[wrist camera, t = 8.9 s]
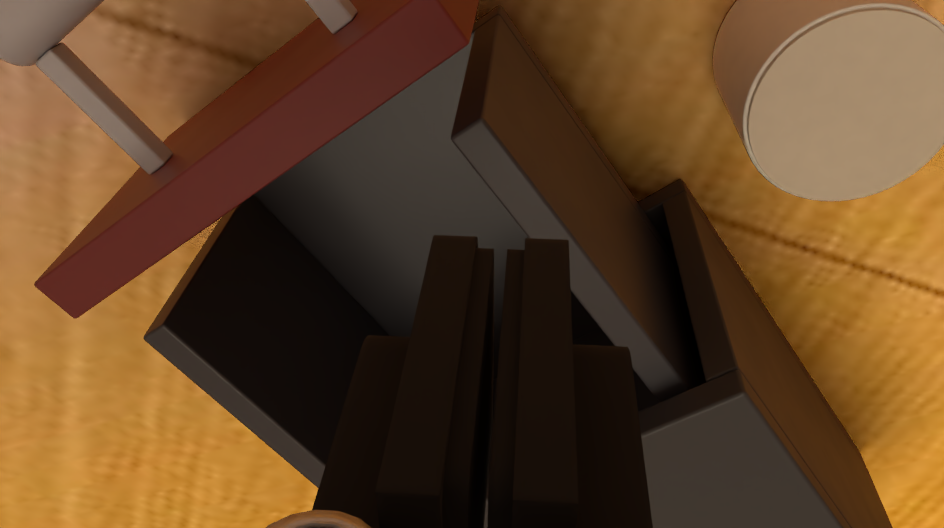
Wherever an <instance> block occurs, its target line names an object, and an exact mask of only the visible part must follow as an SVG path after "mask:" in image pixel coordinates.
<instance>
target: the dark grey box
mask: <svg viewBox="0 0 944 528" xmlns="http://www.w3.org/2000/svg"><path fill="white" fill-rule="evenodd" d="M638 204H639V205H640V207H641V208H642V210H643V211H644V212H645V214H646V215H647V217H648V218H649V220H650V221H651V222H652V224H653V225H654V227H655V228H656V230H657V231H658V233H659V234H660V235H661V237H662V238H663V240H664V241H665V243H666V244H667V246H668V247H669V248H670V250H671V251H672V253H673V254H674V256H675V257H676V262H677V266H678V270H679V274H680V278H681V282H682V286H683V290H684V294H685V298H686V302H687V307H688V311H689V315H690V319H691V323H692V327H693V331H694V335H695V339H696V343H697V347H698V351H699V356H700V360H701V364H702V368H703V372H704V376H705V380H706V383H704V384H701V385H699V386H697V387H694V388H692V389H690V390H687V391H685V392H683V393H680V394H678V395H676V396H674V397H671V398H669V399H667V400H664V401H662V402H660V403H657V404H655V405H653V406H650V407H648V408H646V409H643V410H641V411H639V412H638V415H639V423H640V430H641V438H642V446H643V454H644V462H645V469H646V477H647V485H648V493H649V501H650V508H651V516H652V524H653V528H892V525H891V523H890V521H889V518H888V516H887V514H886V511H885V509H884V507H883V504H882V502H881V500H880V498H879V495H878V493H877V491H876V488H875V486H874V484H873V481H872V479H871V477H870V474H869V472H868V470H867V468H866V465H865V463H864V461H863V458H862V456H861V454H860V452H859V451H858V449H857V447H856V446H855V444H854V443H853V441H852V440H851V438H850V437H849V435H848V434H847V432H846V431H845V429H844V427H843V426H842V424H841V423H840V421H839V420H838V418H837V417H836V415H835V414H834V412H833V411H832V409H831V407H830V406H829V404H828V403H827V401H826V400H825V398H824V397H823V395H822V394H821V392H820V391H819V389H818V388H817V386H816V384H815V383H814V381H813V380H812V378H811V377H810V375H809V374H808V372H807V371H806V369H805V368H804V366H803V364H802V363H801V361H800V360H799V358H798V357H797V355H796V354H795V352H794V351H793V349H792V348H791V346H790V344H789V343H788V341H787V340H786V338H785V337H784V335H783V334H782V332H781V331H780V329H779V328H778V326H777V324H776V323H775V321H774V320H773V318H772V317H771V315H770V314H769V312H768V311H767V309H766V308H765V306H764V305H763V303H762V301H761V300H760V298H759V297H758V295H757V294H756V292H755V291H754V289H753V288H752V286H751V285H750V283H749V281H748V280H747V278H746V277H745V275H744V274H743V272H742V271H741V269H740V268H739V266H738V265H737V263H736V261H735V260H734V258H733V257H732V255H731V254H730V252H729V251H728V249H727V248H726V246H725V245H724V243H723V241H722V240H721V238H720V237H719V235H718V234H717V232H716V231H715V229H714V228H713V226H712V225H711V223H710V222H709V220H708V218H707V217H706V215H705V214H704V212H703V211H702V209H701V208H700V206H699V205H698V203H697V202H696V200H695V198H694V197H693V195H692V194H691V192H690V191H689V189H688V188H687V186H686V185H685V183H684V182H683V180H681V179H680V180H678V181H676V182H674V183H672V184H671V185H669V186H667V187H665V188H663V189H661V190H660V191H658V192H656V193H654V194H652V195H650V196H649V197H647V198H645V199H643V200H641V201H639V202H638ZM488 489H489V476H488V484H487V497H486V509H485V521H484V528H487V527H488Z"/></svg>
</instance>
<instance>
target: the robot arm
mask: <svg viewBox="0 0 944 528" xmlns="http://www.w3.org/2000/svg"><path fill="white" fill-rule="evenodd" d="M493 344H494V249H492V248H478V238H477V236H449V235H434V236H433V239H432V243H431V247H430V252H429V256H428V261H427V265H426V269H425V274H424V278H423V283H422V287H421V292H420V296H419V300H418V305H417V309H416V314H415V318H414V322H413V327H412V331H411V336H410V337H398V336H375V335H368V336H367V337H366V338H365V339H364V342H363V344H362V347H361V350H360V353H359V356H358V360H357V363H356V366H355V370H354V373H353V376H352V380H351V383H350V386H349V390H348V393H347V396H346V400H345V403H344V406H343V409H342V413H341V416H340V419H339V423H338V426H337V429H336V433H335V436H334V439H333V443H332V446H331V449H330V453H329V456H328V459H327V463H326V466H325V469H324V473H323V476H322V479H321V483H320V486H319V489H318V492H317V496H316V499H315V502H314V506H313V509H312V511H307V512H302V513H297V514H292V515H289V516H287V517H285V518H283V519H281V520H279V521H277V522H274V523H272V524H270V525H268V526H267V527H266V528H484V521H485V509H486V497H487V484H488V472H489V460H490V472H489V489H488V527H487V528H653V524H652V516H651V508H650V501H649V493H648V485H647V477H646V469H645V462H644V454H643V446H642V438H641V430H640V423H639V415H638V407H637V399H636V391H635V384H634V376H633V368H632V360H631V355H630V350H629V348H628V347H621V346H598V345H576V344H573V341H572V314H571V287H570V260H569V240H562V239H534V238H525V250H519V249H508V250H507V260H506V272H505V285H504V297H503V310H502V322H501V335H500V347H499V360H498V372H497V385H496V397H495V409H494V422H493V434H492V420H493ZM491 435H492V447H491ZM490 447H491V459H490Z"/></svg>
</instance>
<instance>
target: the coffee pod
mask: <svg viewBox="0 0 944 528" xmlns="http://www.w3.org/2000/svg"><path fill="white" fill-rule="evenodd" d="M713 73H714V79H715V83H716V86H717V89H718V91H719V93H720V95H721V97H722V100H723V102H724V104H725V106H726V108H727V110H728V112H729V114H730V117H731V119H732V121H733V123H734V125H735V127H736V129H737V131H738V133H739V136H740V138H741V140H742V142H743V144H744V146H745V148H746V150H747V153H748V155H749V157H750V159H751V161H752V163H753V164H754V165H755V167H756V168H757V170H758V171H759V172H760V173H761V174H762V175H763V176H764V177H765V178H766V179H767V180H768V181H769V182H771V183H772V184H773V185H775V186H776V187H778V188H780V189H781V190H783V191H785V192H787V193H790V194H793V195H795V196H798V197H802V198H806V199H810V200H819V201H845V200H853V199H858V198H862V197H867V196H870V195H873V194H876V193H879V192H881V191H884V190H886V189H888V188H891V187H893V186H895V185H896V184H898V183H900V182H902V181H904V180H905V179H907V178H908V177H910V176H911V175H913V174H914V173H916V172H917V171H918V170H919V169H920V168H922V167H923V166H924V165H925V164H926V163H928V161H929V160H930V159H931V158H932V157H933V156H934V155H935V154H936V153H937V152H938V151H939V150H940V148H941V147H942V146H943V145H944V25H943V24H942V23H941V22H940V21H938V20H937V19H936V18H934V17H933V16H932V15H931V14H929V13H928V12H927V11H925V10H924V9H923V8H921V7H920V6H919V5H917V4H916V3H915V2H913V1H912V0H737V1H736V2H735V4H734V5H733V6H732V8H731V9H730V11H729V12H728V14H727V15H726V17H725V19H724V21H723V23H722V25H721V27H720V30H719V32H718V34H717V38H716V42H715V45H714V52H713Z"/></svg>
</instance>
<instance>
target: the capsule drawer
mask: <svg viewBox="0 0 944 528" xmlns="http://www.w3.org/2000/svg"><path fill="white" fill-rule="evenodd" d="M103 1H104V0H0V59H2V60H4V61H6V62H8V63H11V64H14V65H18V66H30V65H34V64H36V65H37V67H38V68H39V69H40V70H41V71H42V72H43V73H45V74H46V75H47V76H48V77H49V78H50V79H51V80H52V81H53V82H54V83H55V84H56V85H57V86H58V87H59V88H60V89H61V90H62V91H63V92H64V93H65V94H66V95H67V96H68V97H69V98H70V99H71V100H72V101H73V102H74V103H75V104H77V105H78V106H79V107H80V108H81V109H82V110H83V111H84V112H85V113H86V114H87V115H88V116H89V117H90V118H91V119H92V120H93V121H94V122H95V123H96V124H97V125H98V126H99V127H100V128H101V129H102V130H103V131H104V132H105V133H106V134H107V135H109V136H110V137H111V138H112V139H113V140H114V141H115V142H116V143H117V144H118V145H119V146H120V147H121V148H122V149H123V150H124V151H125V152H126V153H127V154H128V155H129V156H130V157H131V158H132V159H133V160H134V161H135V162H136V163H137V164H138V165H139V166H141V167H140V168H139V169H138V170H137V171H136V172H135V173H134V175H133V176H132V177H131V178H130V179H129V180H128V181H127V182H126V183H125V184H124V185H123V187H122V188H121V189H120V190H119V191H118V192H117V193H116V194H115V195H114V196H113V198H112V199H111V200H110V201H109V202H108V203H107V204H106V205H105V206H104V207H103V208H102V210H101V211H100V212H99V213H98V214H97V215H96V216H95V217H94V218H93V219H92V221H91V222H90V223H89V224H88V225H87V226H86V227H85V228H84V229H83V230H82V232H81V233H80V234H79V235H78V236H77V237H76V238H75V239H74V240H73V241H72V242H71V244H70V245H69V246H68V247H67V248H66V249H65V250H64V251H63V252H62V253H61V255H60V256H59V257H58V258H57V259H56V260H55V261H54V262H53V263H52V264H51V265H50V267H49V268H48V269H47V270H46V271H45V272H44V273H43V274H42V275H41V276H40V278H39V279H38V280H37V281H36V282H35V284H34V285H35V287H37V288H38V289H39V290H40V291H41V292H43V293H44V294H45V295H46V296H47V297H49V298H50V299H51V300H52V301H53V302H55V303H56V304H57V305H58V306H60V307H61V308H62V309H63V310H64V311H66V312H67V313H68V314H69V315H70V316H72V317H73V318H78V317H79V316H81V315H82V314H84V313H85V312H86V311H88V310H89V309H91V308H92V307H94V306H95V305H97V304H98V303H99V302H101V301H102V300H104V299H105V298H107V297H108V296H109V295H111V294H112V293H114V292H115V291H117V290H118V289H119V288H121V287H122V286H124V285H125V284H127V283H128V282H129V281H131V280H132V279H134V278H135V277H137V276H138V275H139V274H141V273H142V272H144V271H145V270H147V269H148V268H149V267H151V266H152V265H154V264H155V263H157V262H158V261H159V260H161V259H162V258H164V257H165V256H167V255H168V254H169V253H171V252H172V251H174V250H175V249H177V248H178V247H179V246H181V245H182V244H184V243H185V242H187V241H188V240H190V239H191V238H192V237H194V236H195V235H197V234H198V233H200V232H201V231H202V230H204V229H205V228H207V227H208V226H210V225H211V224H212V223H214V222H215V221H217V220H218V219H220V218H221V217H222V218H221V219H220V221H219V222H218V224H217V225H216V227H215V228H214V230H213V231H212V233H211V234H210V236H209V237H208V239H207V240H206V242H205V244H204V245H203V247H202V248H201V250H200V251H199V253H198V254H197V256H196V257H195V259H194V260H193V262H192V263H191V265H190V266H189V268H188V269H187V271H186V273H185V274H184V276H183V277H182V279H181V280H180V282H179V283H178V285H177V286H176V288H175V289H174V291H173V292H172V294H171V295H170V297H169V299H168V300H167V302H166V303H165V305H164V306H163V308H162V309H161V311H160V312H159V314H158V315H157V317H156V318H155V320H154V321H153V323H152V324H151V326H150V328H149V329H148V331H147V332H146V334H145V335H144V340H145V341H146V342H147V343H149V344H150V345H151V346H152V347H153V348H154V349H156V350H157V351H158V352H159V353H160V354H161V355H163V356H164V357H165V358H166V359H167V360H169V361H170V362H171V363H172V364H173V365H174V366H176V367H177V368H178V369H179V370H180V371H181V372H183V373H184V374H185V375H186V376H187V377H189V378H190V379H191V380H192V381H193V382H194V383H196V384H197V385H198V386H199V387H200V388H201V389H203V390H204V391H205V392H206V393H207V394H209V395H210V396H211V397H212V398H213V399H214V400H216V401H217V402H218V403H219V404H220V405H221V406H223V407H224V408H225V409H226V410H227V411H228V412H230V413H231V414H232V415H233V416H234V417H236V418H237V419H238V420H239V421H240V422H241V423H243V424H244V425H245V426H246V427H247V428H248V429H250V430H251V431H252V432H253V433H254V434H256V435H257V436H258V437H259V438H260V439H261V440H263V441H264V442H265V443H266V444H267V445H268V446H270V447H271V448H272V449H273V450H274V451H276V452H277V453H278V454H279V455H280V456H281V457H283V458H284V459H285V460H286V461H287V462H288V463H290V464H291V465H292V466H293V467H294V468H296V469H297V470H298V471H299V472H300V473H301V474H303V475H304V476H305V477H306V478H307V479H308V480H310V481H311V482H312V483H313V484H314V485H316V486H317V487H318V488H319V486H320V483H321V479H322V476H323V473H324V469H325V466H326V463H327V459H328V456H329V453H330V449H331V446H332V443H333V439H334V436H335V433H336V429H337V426H338V423H339V419H340V416H341V413H342V409H343V406H344V403H345V400H346V396H347V393H348V390H349V386H350V383H351V380H352V376H353V373H354V370H355V366H356V363H357V360H358V356H359V353H360V350H361V347H362V344H363V342H364V339H365V338H366V337H367V336H368V335H375V336H398V337H410V336H411V331H412V327H413V322H414V318H415V314H416V309H417V305H418V300H419V296H420V292H421V287H422V283H423V278H424V274H425V269H426V265H427V261H428V256H429V252H430V247H431V243H432V239H433V236H434V235H449V236H477V238H478V248H492V249H494V344H493V420H492V434H493V422H494V409H495V397H496V385H497V372H498V360H499V347H500V335H501V322H502V310H503V297H504V285H505V272H506V260H507V250H508V249H519V250H525V238H534V239H562V240H569V260H570V287H571V314H572V341H573V344H576V345H598V346H621V347H628V348H629V350H630V355H631V360H632V368H633V376H634V384H635V391H636V399H637V407H638V412H639V411H641V410H643V409H646V408H648V407H650V406H653V405H655V404H657V403H660V402H662V401H664V400H667V399H669V398H671V397H674V396H676V395H678V394H680V393H683V392H685V391H687V390H690V389H692V388H694V387H697V386H699V385H701V384H704V383H706V380H705V376H704V372H703V368H702V364H701V360H700V356H699V351H698V347H697V343H696V339H695V335H694V331H693V327H692V323H691V319H690V315H689V311H688V307H687V302H686V298H685V294H684V290H683V286H682V282H681V278H680V274H679V270H678V266H677V262H676V257H675V256H674V254H673V253H672V251H671V250H670V248H669V247H668V246H667V244H666V243H665V241H664V240H663V238H662V237H661V235H660V234H659V233H658V231H657V230H656V228H655V227H654V225H653V224H652V222H651V221H650V220H649V218H648V217H647V215H646V214H645V212H644V211H643V210H642V208H641V207H640V205H639V204H638V202H637V201H636V199H635V198H634V197H633V195H632V194H631V192H630V191H629V189H628V188H627V186H626V185H625V184H624V182H623V181H622V179H621V178H620V176H619V175H618V174H617V172H616V171H615V169H614V168H613V166H612V165H611V163H610V162H609V161H608V159H607V158H606V156H605V155H604V153H603V152H602V150H601V149H600V148H599V146H598V145H597V143H596V142H595V140H594V139H593V138H592V136H591V135H590V133H589V132H588V130H587V129H586V127H585V126H584V125H583V123H582V122H581V120H580V119H579V117H578V116H577V114H576V113H575V112H574V110H573V109H572V107H571V106H570V104H569V103H568V101H567V100H566V99H565V97H564V96H563V94H562V93H561V91H560V90H559V89H558V87H557V86H556V84H555V83H554V81H553V80H552V78H551V77H550V76H549V74H548V73H547V71H546V70H545V68H544V67H543V65H542V64H541V63H540V61H539V60H538V58H537V57H536V55H535V54H534V53H533V51H532V50H531V48H530V47H529V45H528V44H527V42H526V41H525V40H524V38H523V37H522V35H521V34H520V32H519V31H518V29H517V28H516V27H515V25H514V24H513V22H512V21H511V19H510V18H509V17H508V15H507V14H506V12H505V11H504V9H503V8H502V7H501V6H497V7H496V8H495V9H493V10H492V11H490V12H489V13H488V14H486V15H485V16H483V17H482V18H480V19H479V20H478V21H476V22H475V23H474V21H475V17H476V12H477V8H478V4H479V0H305V1H306V2H307V4H308V5H309V6H310V7H311V8H312V10H313V11H314V12H315V13H316V15H317V16H318V17H319V18H318V19H317V20H315V21H314V22H313V23H312V24H310V25H309V26H308V27H306V28H305V29H304V30H303V31H301V32H300V33H299V34H298V35H296V36H295V37H294V38H292V39H291V40H290V41H289V42H287V43H286V44H285V45H284V46H282V47H281V48H280V49H278V50H277V51H276V52H275V53H273V54H272V55H271V56H270V57H268V58H267V59H266V60H265V61H263V62H262V63H261V64H259V65H258V66H257V67H256V68H254V69H253V70H252V71H251V72H249V73H248V74H247V75H245V76H244V77H243V78H242V79H240V80H239V81H238V82H237V83H235V84H234V85H233V86H231V87H230V88H229V89H228V90H226V91H225V92H224V93H223V94H221V95H220V96H219V97H218V98H216V99H215V100H214V101H212V102H211V103H210V104H209V105H207V106H206V107H205V108H204V109H202V110H201V111H200V112H198V113H197V114H196V115H195V116H193V117H192V118H191V119H190V120H188V121H187V122H186V123H184V124H183V125H182V126H181V127H179V128H178V129H177V130H176V131H174V132H173V133H172V134H171V135H169V136H168V137H167V138H166V139H165V141H164V142H162V141H161V140H160V139H159V138H158V137H157V136H156V135H155V134H154V133H153V132H152V131H151V130H150V129H149V128H148V127H147V126H146V125H145V124H144V123H143V122H142V121H141V120H140V119H139V118H138V117H137V116H136V115H135V114H134V113H133V112H132V111H131V110H130V109H129V108H128V107H127V106H126V105H125V104H124V103H123V102H122V101H121V100H120V99H119V98H118V97H117V96H116V95H115V94H114V93H113V92H112V91H111V90H110V89H109V88H108V87H107V86H106V85H105V84H104V83H103V82H102V81H101V80H100V79H99V78H98V77H97V76H96V75H95V74H94V73H93V72H92V71H91V70H90V69H89V68H88V67H87V66H86V65H85V64H84V63H83V62H82V61H81V60H80V59H79V58H78V57H77V56H76V55H75V54H74V53H73V52H72V51H71V50H70V49H69V48H68V47H67V46H66V45H65V44H64V43H59V42H60V41H61V40H62V39H63V38H64V37H65V36H66V35H67V34H68V33H69V32H71V31H72V30H73V29H74V28H75V27H76V26H77V25H78V24H79V23H80V22H81V21H82V20H83V19H84V18H86V17H87V16H88V15H89V14H90V13H91V12H92V11H93V10H94V9H95V8H96V7H97V6H98V5H99V4H101V3H102V2H103ZM58 43H59V44H58ZM491 447H492V435H491ZM491 447H490V459H491ZM489 472H490V460H489ZM489 472H488V476H489Z"/></svg>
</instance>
